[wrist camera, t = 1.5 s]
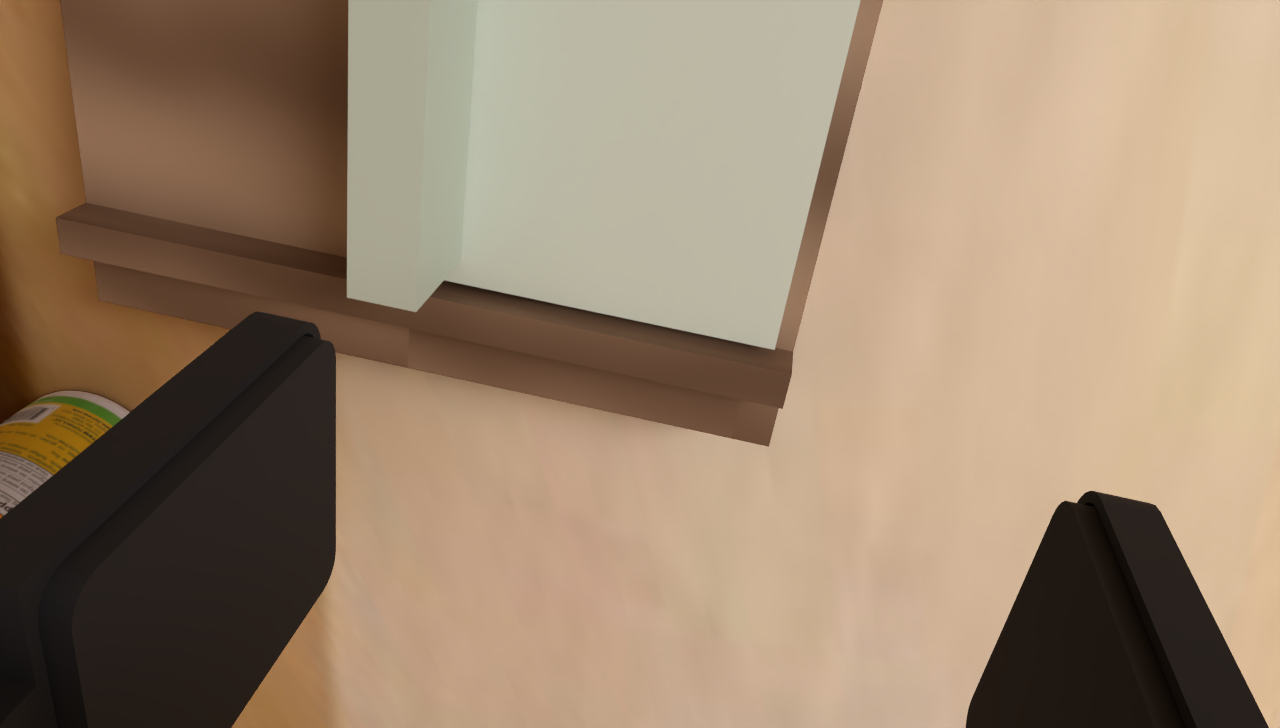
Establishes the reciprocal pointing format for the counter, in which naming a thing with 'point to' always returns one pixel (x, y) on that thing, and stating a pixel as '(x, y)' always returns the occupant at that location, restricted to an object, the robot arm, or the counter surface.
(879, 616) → the counter surface
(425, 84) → the lid
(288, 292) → the brown box
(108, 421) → the supplement bottle
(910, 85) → the counter surface
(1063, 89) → the counter surface
